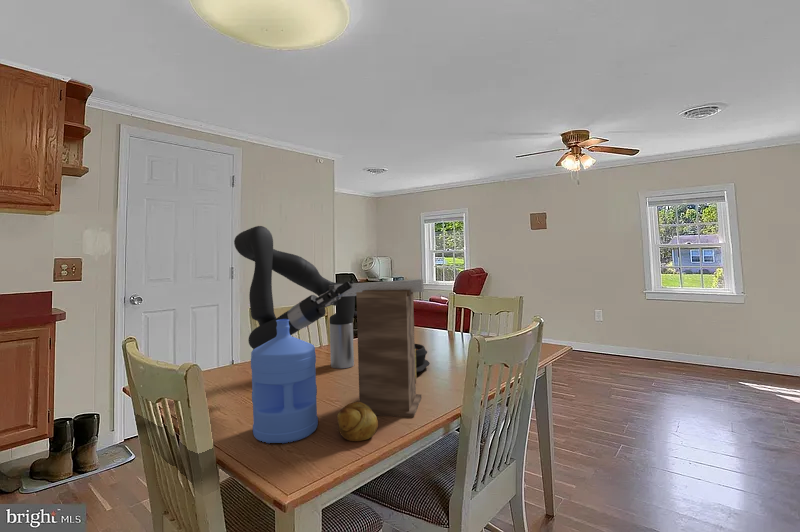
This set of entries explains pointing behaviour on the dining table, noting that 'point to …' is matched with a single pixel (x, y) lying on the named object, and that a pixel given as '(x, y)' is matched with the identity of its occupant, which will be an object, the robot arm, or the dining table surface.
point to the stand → (387, 352)
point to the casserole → (421, 358)
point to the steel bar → (383, 286)
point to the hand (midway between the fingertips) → (351, 283)
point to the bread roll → (357, 422)
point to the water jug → (284, 388)
